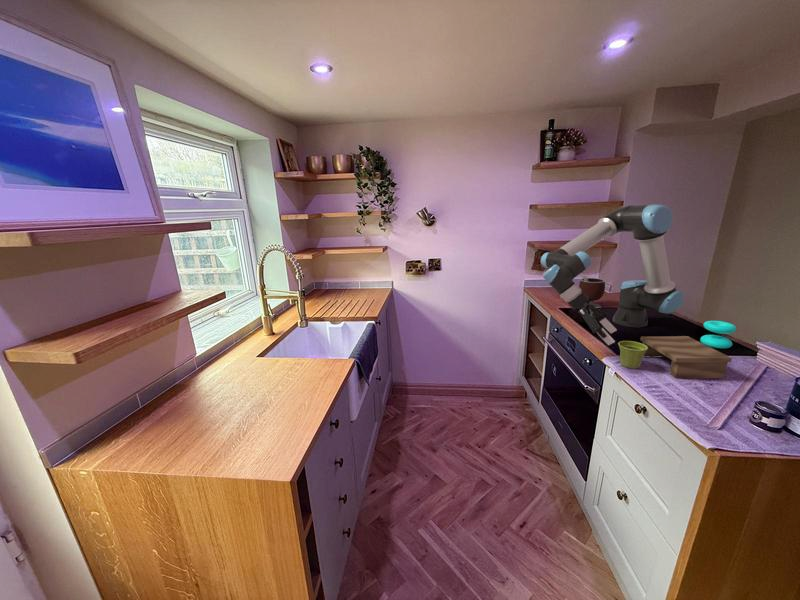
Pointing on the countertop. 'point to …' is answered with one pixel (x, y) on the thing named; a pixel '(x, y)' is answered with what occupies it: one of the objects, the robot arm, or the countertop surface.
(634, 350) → the plant pot
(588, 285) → the mate gourd
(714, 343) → the donuts
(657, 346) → the walnut shelf stand
